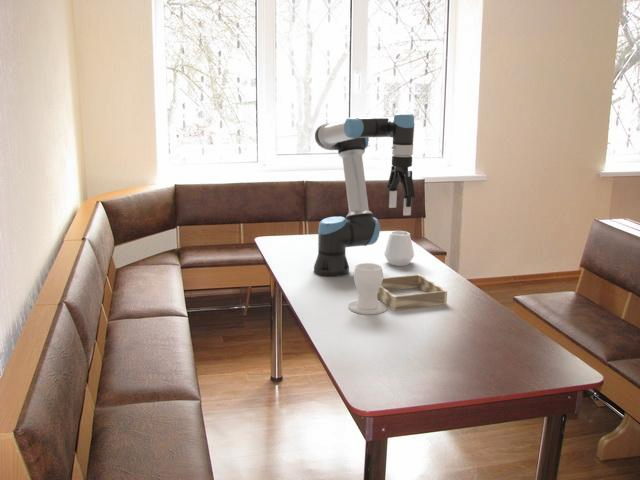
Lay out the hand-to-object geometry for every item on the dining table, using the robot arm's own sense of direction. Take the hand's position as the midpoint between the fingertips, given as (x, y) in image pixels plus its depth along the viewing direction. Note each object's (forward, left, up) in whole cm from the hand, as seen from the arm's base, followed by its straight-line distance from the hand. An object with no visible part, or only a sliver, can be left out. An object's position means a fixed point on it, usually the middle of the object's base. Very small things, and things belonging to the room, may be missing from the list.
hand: (399, 211), depth 253 cm
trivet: (+13, -18, -32) cm, 39 cm away
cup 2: (-37, +19, -33) cm, 53 cm away
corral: (+7, +1, -32) cm, 33 cm away
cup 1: (+13, -18, -32) cm, 39 cm away
